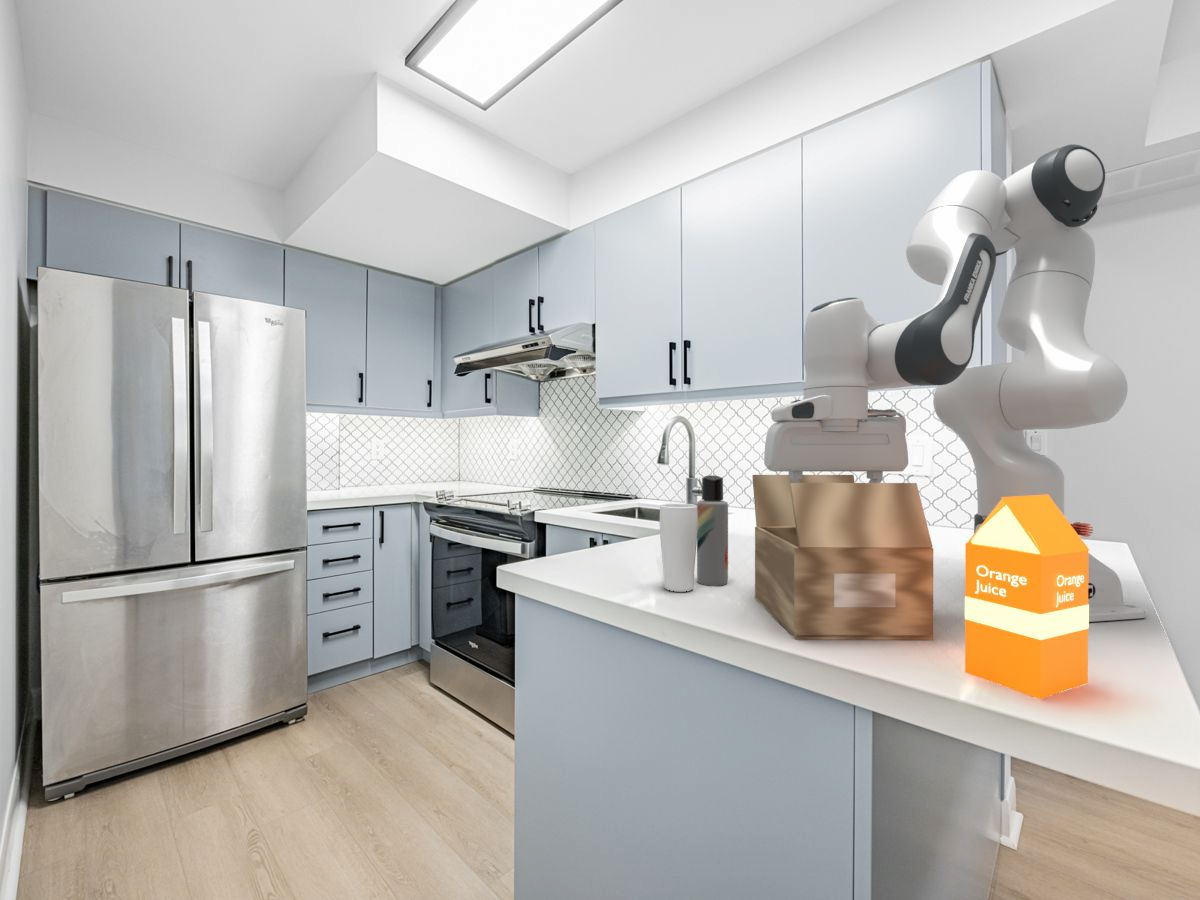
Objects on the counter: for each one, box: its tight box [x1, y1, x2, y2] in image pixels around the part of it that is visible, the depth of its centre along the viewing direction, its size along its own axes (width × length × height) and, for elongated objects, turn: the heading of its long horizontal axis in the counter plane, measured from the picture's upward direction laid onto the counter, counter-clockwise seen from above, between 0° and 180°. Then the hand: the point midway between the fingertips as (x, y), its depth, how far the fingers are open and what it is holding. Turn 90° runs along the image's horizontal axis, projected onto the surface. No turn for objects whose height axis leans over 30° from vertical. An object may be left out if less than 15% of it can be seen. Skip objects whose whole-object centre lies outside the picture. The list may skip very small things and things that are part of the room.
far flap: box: [751, 474, 856, 527], centre depth 95 cm, size 17×9×1 cm
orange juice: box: [964, 495, 1090, 700], centre depth 61 cm, size 8×9×20 cm
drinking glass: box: [659, 503, 698, 593], centre depth 99 cm, size 7×7×15 cm
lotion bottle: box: [696, 475, 729, 587], centre depth 104 cm, size 6×6×20 cm
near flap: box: [789, 482, 934, 549], centre depth 75 cm, size 17×9×1 cm
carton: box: [754, 526, 934, 641], centre depth 83 cm, size 18×20×12 cm
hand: (834, 502), depth 82 cm, fingers open, 8 cm apart
